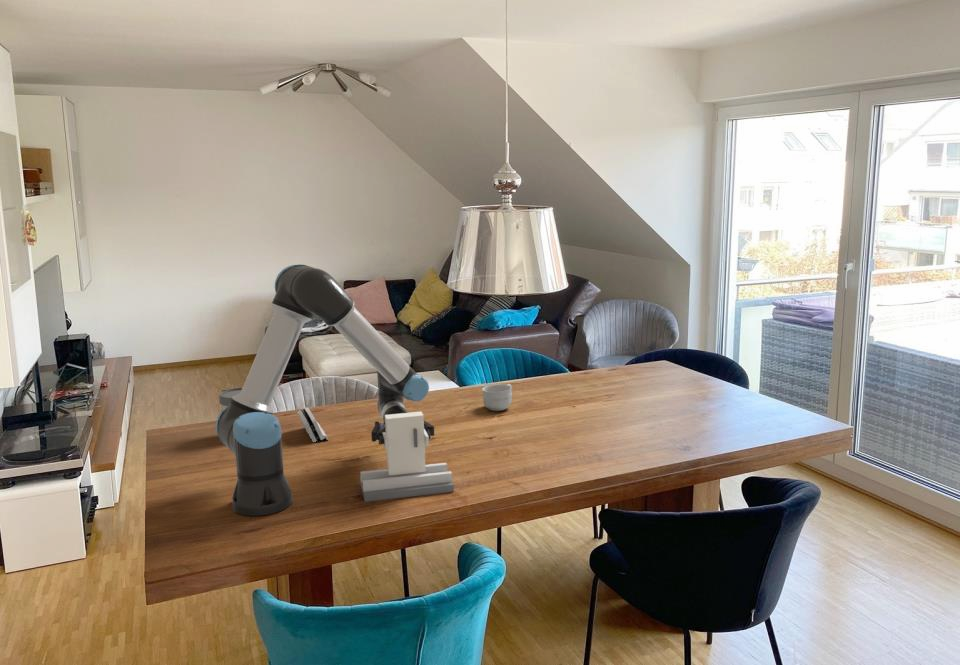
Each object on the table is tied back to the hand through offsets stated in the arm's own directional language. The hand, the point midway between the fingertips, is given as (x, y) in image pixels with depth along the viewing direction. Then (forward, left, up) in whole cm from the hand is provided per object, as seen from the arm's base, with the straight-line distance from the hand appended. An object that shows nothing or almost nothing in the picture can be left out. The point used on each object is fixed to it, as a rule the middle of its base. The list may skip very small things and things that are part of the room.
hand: (407, 443), depth 203 cm
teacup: (+80, -5, -15) cm, 81 cm away
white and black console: (+36, +48, -15) cm, 62 cm away
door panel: (+4, +2, -9) cm, 10 cm away
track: (+4, +2, -14) cm, 15 cm away
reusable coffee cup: (+30, +70, -15) cm, 77 cm away
